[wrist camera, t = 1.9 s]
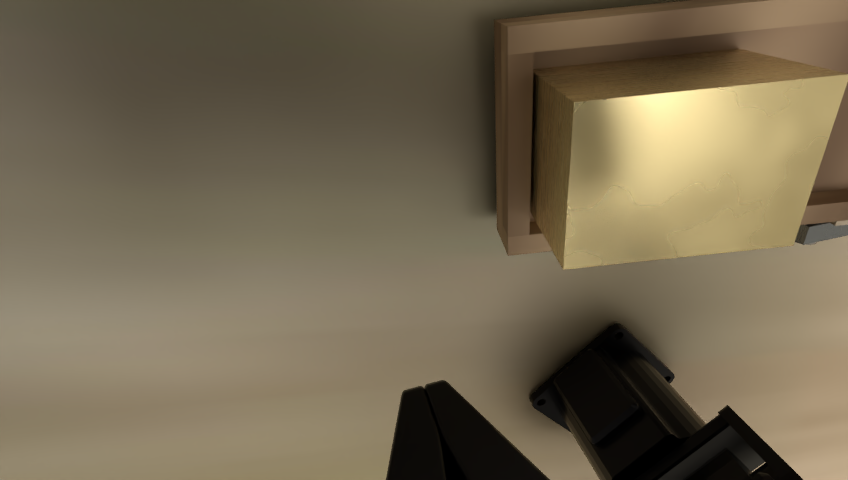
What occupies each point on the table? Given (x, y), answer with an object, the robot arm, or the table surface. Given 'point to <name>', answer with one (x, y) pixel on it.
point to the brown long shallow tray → (652, 37)
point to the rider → (677, 154)
